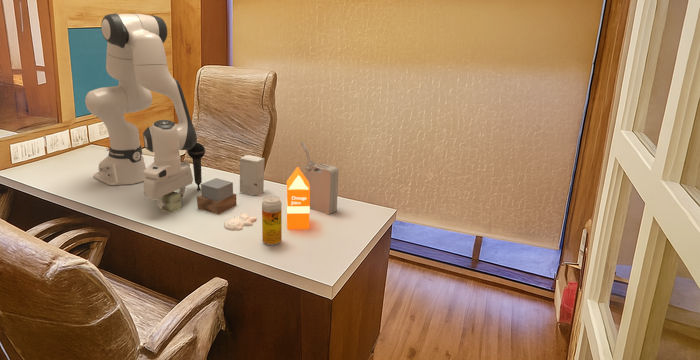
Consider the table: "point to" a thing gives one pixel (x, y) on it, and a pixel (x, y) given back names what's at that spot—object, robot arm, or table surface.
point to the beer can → (271, 220)
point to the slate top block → (217, 189)
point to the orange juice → (298, 201)
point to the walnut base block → (216, 204)
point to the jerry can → (321, 185)
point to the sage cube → (171, 202)
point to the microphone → (197, 162)
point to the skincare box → (251, 175)
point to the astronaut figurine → (239, 222)
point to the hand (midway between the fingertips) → (171, 202)
